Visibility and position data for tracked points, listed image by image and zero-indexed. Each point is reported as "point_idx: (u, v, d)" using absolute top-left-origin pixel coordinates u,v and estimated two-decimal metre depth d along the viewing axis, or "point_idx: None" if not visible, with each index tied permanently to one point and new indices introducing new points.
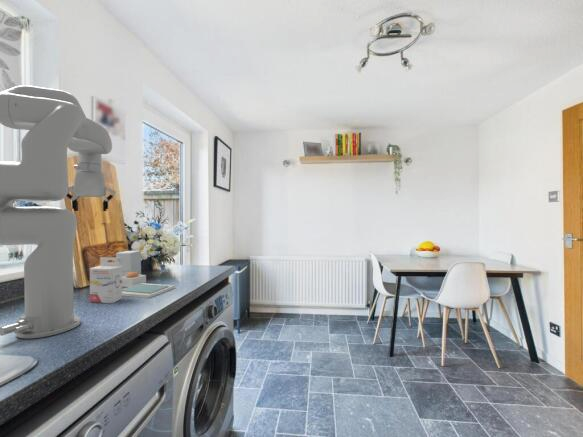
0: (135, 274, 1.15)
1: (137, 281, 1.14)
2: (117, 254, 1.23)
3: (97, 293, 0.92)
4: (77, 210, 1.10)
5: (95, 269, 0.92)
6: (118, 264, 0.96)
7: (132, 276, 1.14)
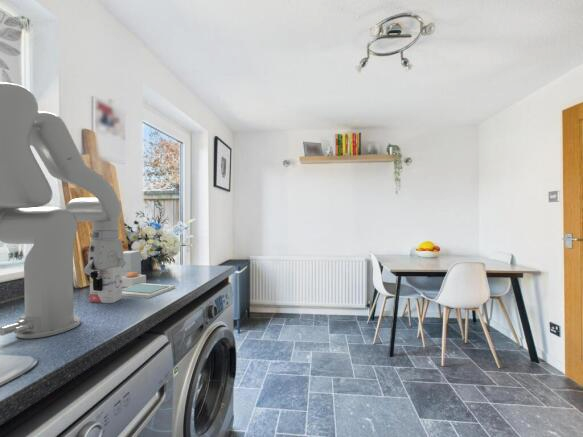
0: (135, 274, 1.15)
1: (137, 281, 1.14)
2: None
3: (97, 293, 0.92)
4: None
5: None
6: None
7: (132, 276, 1.14)
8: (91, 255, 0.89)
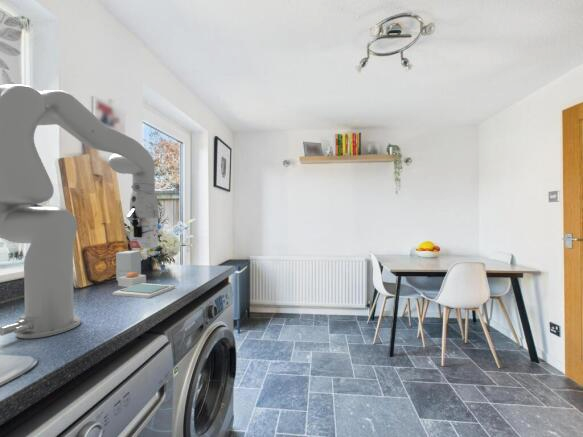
0: (135, 274, 1.15)
1: (137, 281, 1.14)
2: (117, 254, 1.23)
3: (137, 240, 1.03)
4: (137, 236, 1.03)
5: None
6: None
7: (132, 276, 1.14)
8: (133, 204, 1.00)
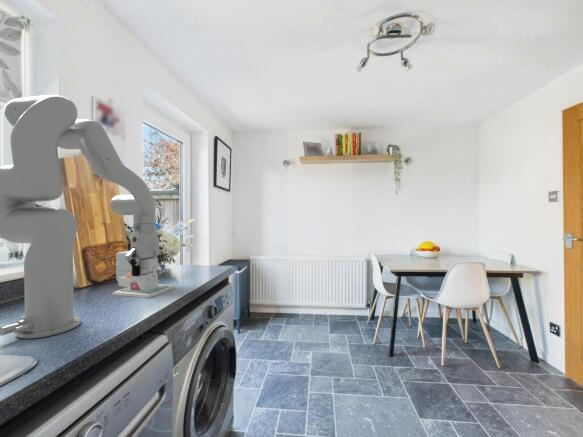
0: None
1: None
2: (117, 254, 1.23)
3: (137, 282, 1.03)
4: None
5: None
6: (154, 256, 1.07)
7: None
8: (133, 245, 1.01)
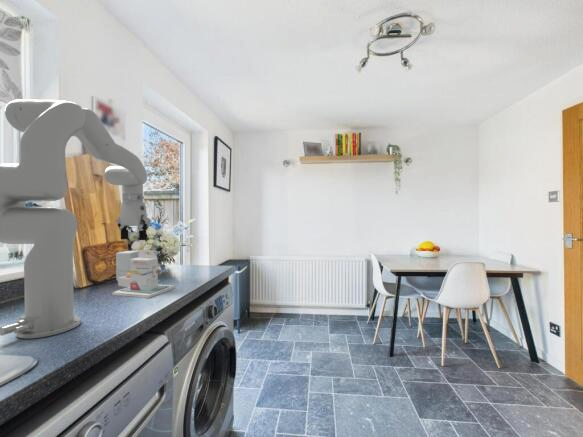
0: None
1: None
2: (117, 254, 1.23)
3: (137, 282, 1.03)
4: (140, 239, 1.13)
5: (135, 260, 1.03)
6: (154, 256, 1.07)
7: None
8: (142, 213, 1.13)
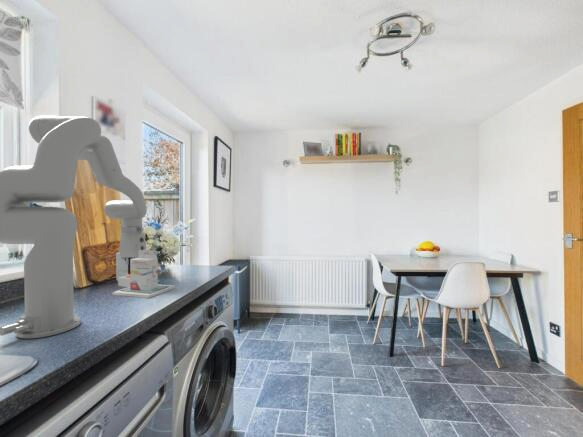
0: None
1: None
2: (117, 254, 1.23)
3: (137, 282, 1.03)
4: None
5: (135, 260, 1.03)
6: (154, 256, 1.07)
7: None
8: (141, 245, 1.14)
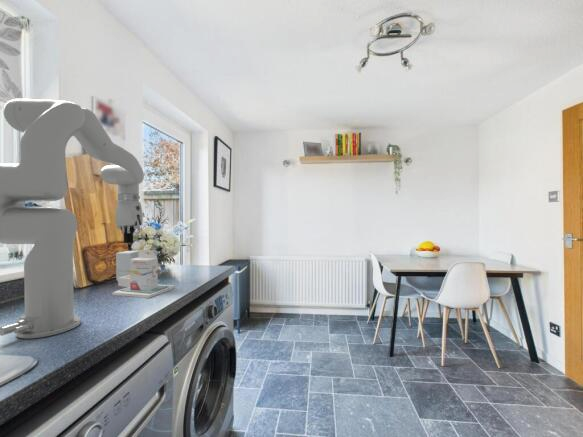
0: None
1: None
2: (117, 254, 1.23)
3: (137, 282, 1.03)
4: None
5: (135, 260, 1.03)
6: (154, 256, 1.07)
7: None
8: (137, 213, 1.13)
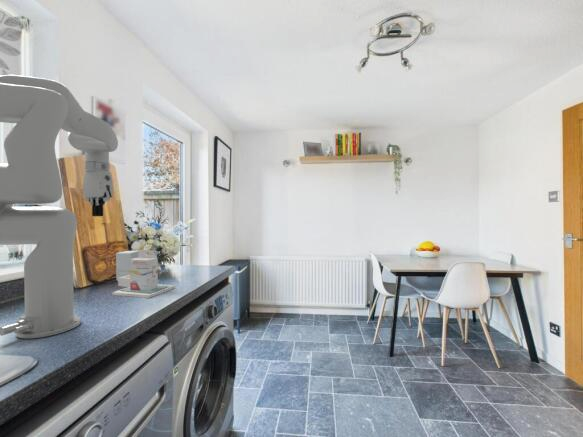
0: None
1: None
2: (117, 254, 1.23)
3: (137, 282, 1.03)
4: (96, 215, 1.04)
5: (135, 260, 1.03)
6: (154, 256, 1.07)
7: None
8: (107, 183, 1.03)
